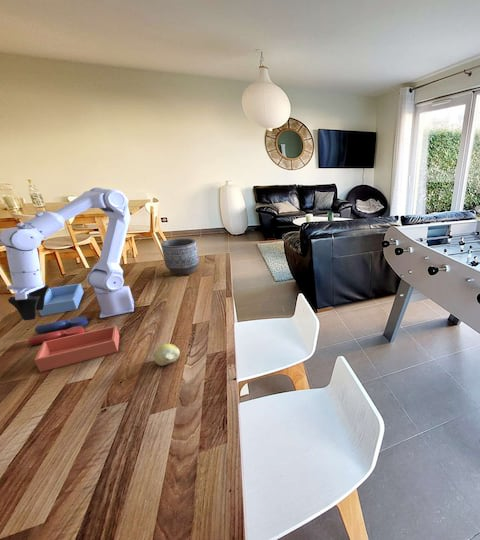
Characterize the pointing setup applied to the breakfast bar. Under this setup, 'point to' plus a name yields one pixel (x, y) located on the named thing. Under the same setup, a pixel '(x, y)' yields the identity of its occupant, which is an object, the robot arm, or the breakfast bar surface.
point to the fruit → (166, 354)
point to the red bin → (77, 348)
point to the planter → (180, 255)
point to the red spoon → (56, 335)
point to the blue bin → (62, 299)
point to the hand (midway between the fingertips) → (34, 314)
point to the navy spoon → (62, 324)
